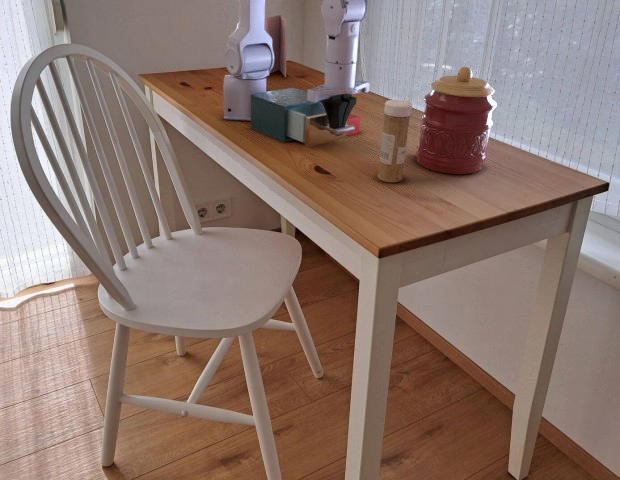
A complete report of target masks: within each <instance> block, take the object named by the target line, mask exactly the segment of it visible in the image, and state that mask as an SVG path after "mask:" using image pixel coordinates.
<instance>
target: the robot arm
mask: <svg viewBox="0 0 620 480" xmlns="http://www.w3.org/2000/svg"><path fill="white" fill-rule="evenodd" d="M320 1H321V3H322V4H320V11H321V16H322V18H323V21H324V31H325V34H326V51H325V69H324V83H322V84H320V85H319V86H316V87H313V88H309V89H307V91H306V92H307V100H308V101H311V102H314V103H315V102H318V101H319V100H321V103H322V104H323V106H324V109H325V111H326V114H327V117H328V122H329V127H330V128H333V129H337V128H341V127H345V124H346V121H347V119H348V116H349V114H351V112H352V110H353V109H354V107H355V106H356V104H357V102H358V101H357V97H356V96H353V95H355V94H361V93H364V94H367V93H369V91H370V81H366V80H356V72H357V60H358V48H359V47H358V46H359V35H360V23H362V22H363V20H364V19H365V18H366V16H367V14H368V9H369V4H368V3H369V2H368V0H320ZM265 18H266V0H238V22H239V27H238V28H237V27H236V29H235V30H234V31H233V32H231V34H230V35H229V36H227V42H226V43H227V45H226V50H225V53H224V65H225V67H226V69H227V71H228V73H229V74H226V75H224V78H223V85H222V88H223V90H222V92H223V120H229V121H230V120H231V121H233V120H234V121H248V122H251V94H257V93H263V92H267V77H268V76H270V73H269V71H270V70H271V69H272V68H273V65H274V52H273V48H272V38H271V36H270V35H269V34H268V33H267V32H266V31H265V30H264V20H265ZM331 134H333V133H332V132H331ZM339 135H342V134H339ZM339 135H336V136H339Z"/></svg>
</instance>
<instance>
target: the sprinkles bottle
mask: <svg viewBox="0 0 620 480" xmlns="http://www.w3.org/2000/svg"><path fill="white" fill-rule="evenodd" d="M412 111H413V104H412V103H411V102H410V101H408V100H405V99H388V100H386V101H385V103H384V110H383V113H384V114H383V115H384V118H383V126H382V134H381V143H380V153H379V166H378V173H377V178H378V179H379V180H380V181H382V182H385V183H391V184H392V183H393V184H395V183H398V182H401V181H402V180H403V178H404V176H403V173H404V166H405V165H404V163H405V161H406V159H405V158H406V151H407V150H406V149H407V142H408V131H409V123H410V118H411V115H412Z"/></svg>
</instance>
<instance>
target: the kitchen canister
mask: <svg viewBox="0 0 620 480" xmlns="http://www.w3.org/2000/svg"><path fill="white" fill-rule="evenodd" d="M430 89H432V90H431V92H429V93H427V94H426V95H424V97H423V102H425V108H424V112H423V113H422V114H421V122H420V123H421V124H420V132H419V137H418V145H417V146H416V161H417V163H418V164H419V165H420V166H422V167H423V168H425V169H428V170H431V171H434V172H438V173H443V174H448V175H449V174H450V175H467V174H468V175H469V174H473V173H477V172H479V171H481V170H482V169H483V166H484V163H485V162H486V158H487V153H486V152H487V148H488V144H489V137H490V133H491V128H492V126H493V121H492V113H493V111H494V110H495V109H496V107H497V102H496V101H495V100H494V99H493V98H492V95H494V93H495V89H494V88H493V87H492V86H491V85H489V82H487V81H486V80H484V79H481V78H478V77H475V76H473V72H472V69H471V68H470V67H468V66H462V67H460V68H459V69H458V70H457V73H456V75H445V76H441V77H439V79H437V80H435V81H433V82H431V84H430Z"/></svg>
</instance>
